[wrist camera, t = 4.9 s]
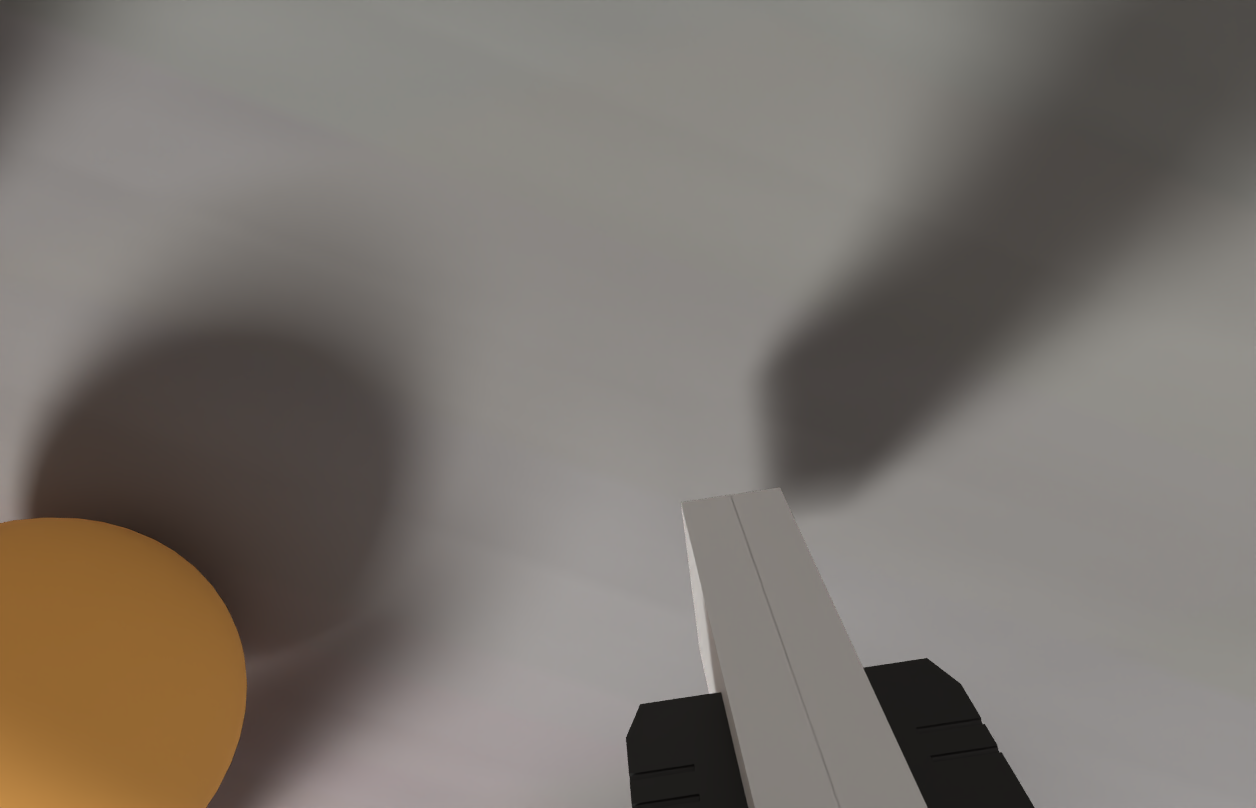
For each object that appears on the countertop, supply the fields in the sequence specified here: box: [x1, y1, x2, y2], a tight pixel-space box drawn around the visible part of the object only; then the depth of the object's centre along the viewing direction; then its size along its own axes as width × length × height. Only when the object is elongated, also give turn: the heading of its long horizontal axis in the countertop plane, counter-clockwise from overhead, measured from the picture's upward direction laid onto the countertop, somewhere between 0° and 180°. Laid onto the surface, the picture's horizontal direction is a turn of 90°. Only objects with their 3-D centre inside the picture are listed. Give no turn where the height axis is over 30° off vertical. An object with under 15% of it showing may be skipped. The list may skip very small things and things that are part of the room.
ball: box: [0, 518, 247, 808], centre depth 13 cm, size 6×6×6 cm
